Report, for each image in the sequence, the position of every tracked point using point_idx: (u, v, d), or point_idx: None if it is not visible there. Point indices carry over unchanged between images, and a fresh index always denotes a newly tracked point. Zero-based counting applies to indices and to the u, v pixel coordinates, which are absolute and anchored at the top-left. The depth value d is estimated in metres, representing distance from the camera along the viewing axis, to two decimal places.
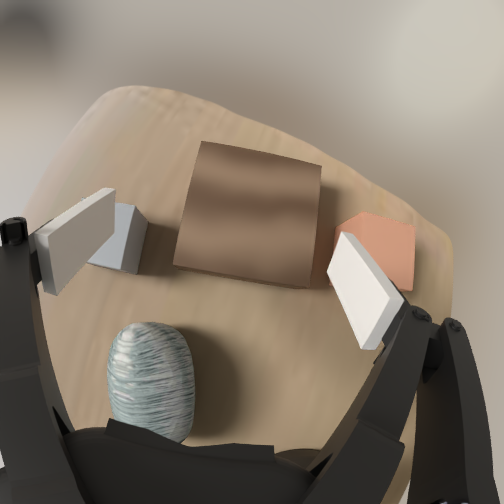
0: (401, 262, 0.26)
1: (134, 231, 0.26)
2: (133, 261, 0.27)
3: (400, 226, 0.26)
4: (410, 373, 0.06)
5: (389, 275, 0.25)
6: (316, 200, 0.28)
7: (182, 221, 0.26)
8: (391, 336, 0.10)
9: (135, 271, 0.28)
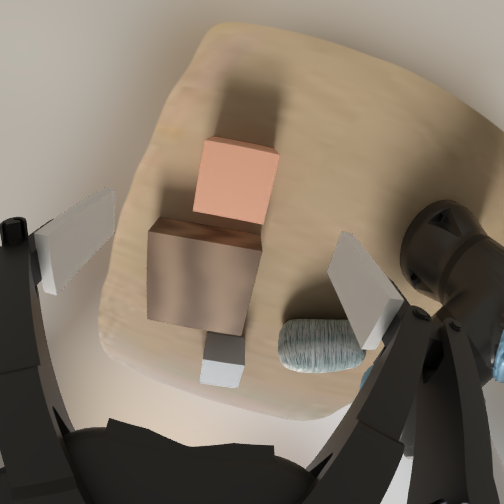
0: (247, 168, 0.25)
1: (218, 352, 0.39)
2: (237, 346, 0.41)
3: (205, 164, 0.25)
4: (410, 373, 0.06)
5: (260, 185, 0.26)
6: (183, 239, 0.31)
7: (211, 330, 0.37)
8: (391, 336, 0.10)
9: (242, 341, 0.42)
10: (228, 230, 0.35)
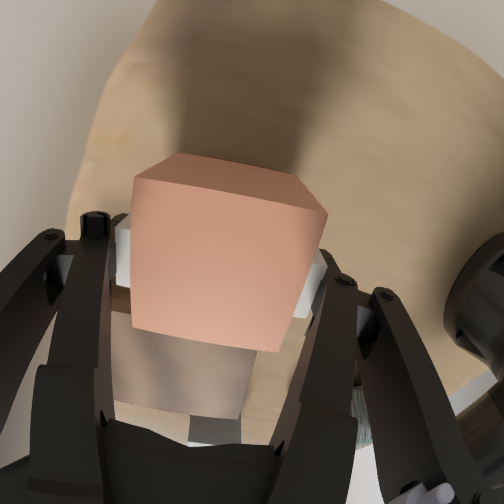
0: (243, 247, 0.10)
1: (206, 430, 0.27)
2: (231, 420, 0.29)
3: (142, 237, 0.10)
4: (345, 343, 0.07)
5: (274, 285, 0.11)
6: None
7: (197, 415, 0.24)
8: (317, 306, 0.11)
9: None
10: None
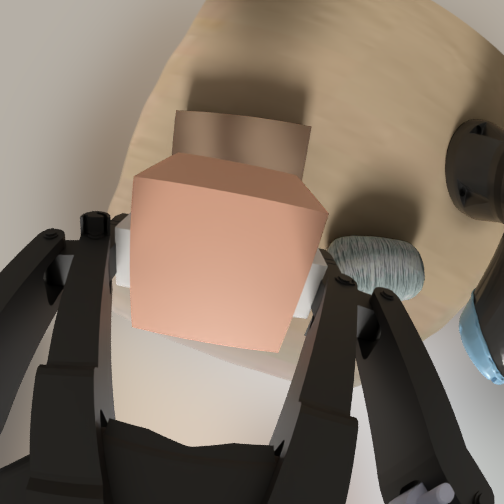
0: (244, 246, 0.10)
1: None
2: None
3: (142, 236, 0.10)
4: (345, 343, 0.07)
5: (275, 285, 0.11)
6: (218, 115, 0.24)
7: None
8: (317, 306, 0.11)
9: None
10: None
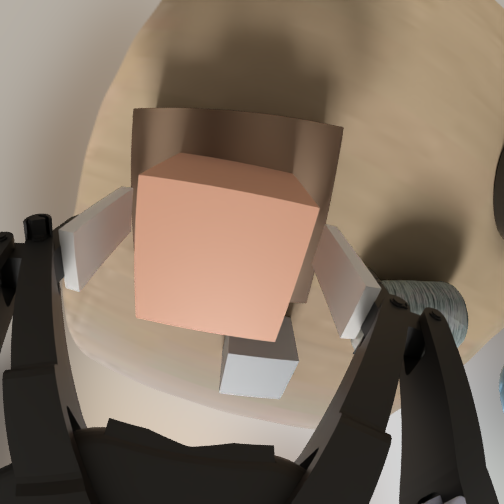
0: (240, 239, 0.11)
1: (252, 341, 0.23)
2: (281, 331, 0.25)
3: (146, 230, 0.11)
4: (391, 363, 0.07)
5: (270, 276, 0.12)
6: (197, 112, 0.15)
7: None
8: (369, 325, 0.10)
9: (288, 322, 0.27)
10: None
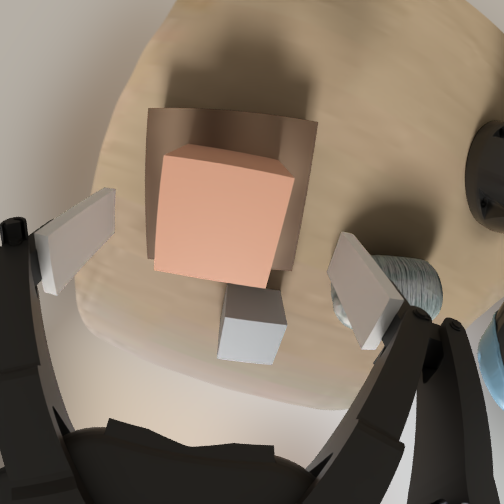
0: (238, 201, 0.15)
1: (246, 308, 0.27)
2: (272, 301, 0.29)
3: (167, 196, 0.15)
4: (410, 373, 0.06)
5: (260, 230, 0.16)
6: (200, 112, 0.19)
7: None
8: (391, 336, 0.10)
9: (278, 294, 0.31)
10: None
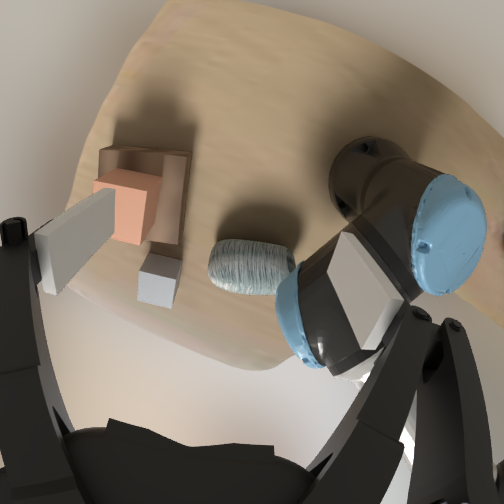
0: (124, 202, 0.30)
1: (154, 267, 0.43)
2: (173, 265, 0.45)
3: None
4: (410, 373, 0.06)
5: (134, 215, 0.31)
6: (124, 153, 0.34)
7: (151, 240, 0.40)
8: (391, 336, 0.10)
9: (179, 262, 0.46)
10: (165, 149, 0.38)
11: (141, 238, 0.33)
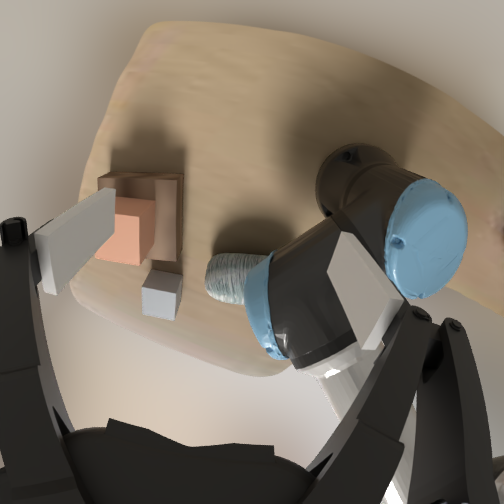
0: (120, 228, 0.33)
1: (155, 283, 0.46)
2: (174, 280, 0.48)
3: None
4: (410, 373, 0.06)
5: (131, 239, 0.34)
6: (120, 180, 0.37)
7: (151, 258, 0.43)
8: (391, 336, 0.10)
9: (180, 277, 0.49)
10: (158, 173, 0.41)
11: (140, 259, 0.36)
